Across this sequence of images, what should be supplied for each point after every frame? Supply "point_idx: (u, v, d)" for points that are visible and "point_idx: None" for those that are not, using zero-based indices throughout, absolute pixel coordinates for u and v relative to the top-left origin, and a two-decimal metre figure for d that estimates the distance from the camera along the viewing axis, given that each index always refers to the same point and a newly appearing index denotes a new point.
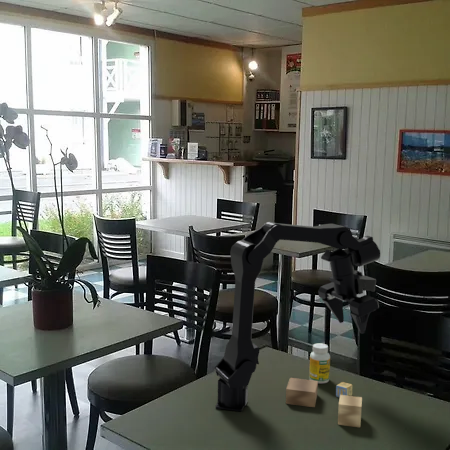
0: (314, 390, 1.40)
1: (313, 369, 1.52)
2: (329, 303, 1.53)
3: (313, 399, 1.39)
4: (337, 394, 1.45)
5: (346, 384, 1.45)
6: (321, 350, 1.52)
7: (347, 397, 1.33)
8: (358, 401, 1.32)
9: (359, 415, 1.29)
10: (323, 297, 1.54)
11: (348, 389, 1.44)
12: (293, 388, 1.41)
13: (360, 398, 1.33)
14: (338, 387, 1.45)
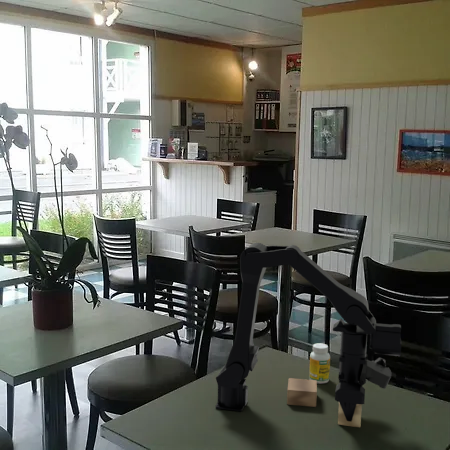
0: (315, 390, 1.40)
1: (313, 369, 1.52)
2: None
3: (314, 399, 1.39)
4: None
5: None
6: (321, 350, 1.52)
7: None
8: None
9: (359, 414, 1.29)
10: None
11: None
12: (294, 388, 1.40)
13: None
14: None
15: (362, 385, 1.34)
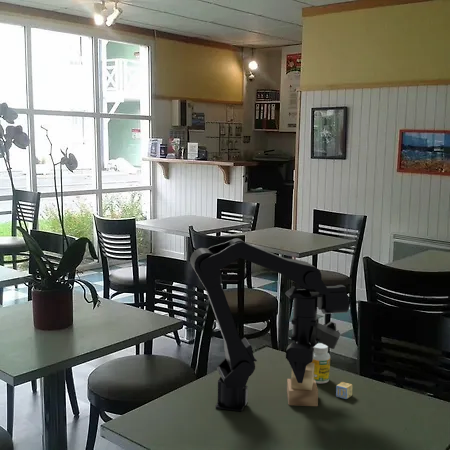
0: (316, 389, 1.40)
1: None
2: (296, 343, 1.47)
3: (316, 398, 1.39)
4: (337, 394, 1.45)
5: (346, 384, 1.45)
6: (321, 350, 1.52)
7: None
8: (310, 366, 1.42)
9: (310, 378, 1.39)
10: None
11: (348, 389, 1.44)
12: (295, 389, 1.40)
13: (312, 364, 1.43)
14: (338, 387, 1.45)
15: None
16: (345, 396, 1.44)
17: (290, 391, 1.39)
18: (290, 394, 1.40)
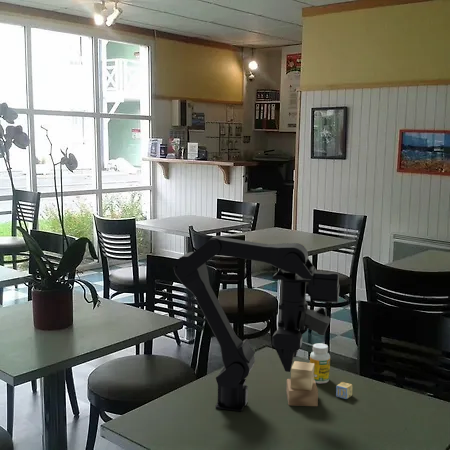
0: (316, 389, 1.40)
1: None
2: None
3: (316, 398, 1.39)
4: (337, 394, 1.45)
5: (346, 384, 1.45)
6: (321, 350, 1.52)
7: (300, 363, 1.43)
8: (310, 366, 1.42)
9: (310, 378, 1.39)
10: None
11: (348, 389, 1.44)
12: (295, 389, 1.40)
13: (312, 364, 1.43)
14: (338, 387, 1.44)
15: (304, 332, 1.38)
16: (345, 396, 1.44)
17: (290, 391, 1.39)
18: (290, 394, 1.39)
